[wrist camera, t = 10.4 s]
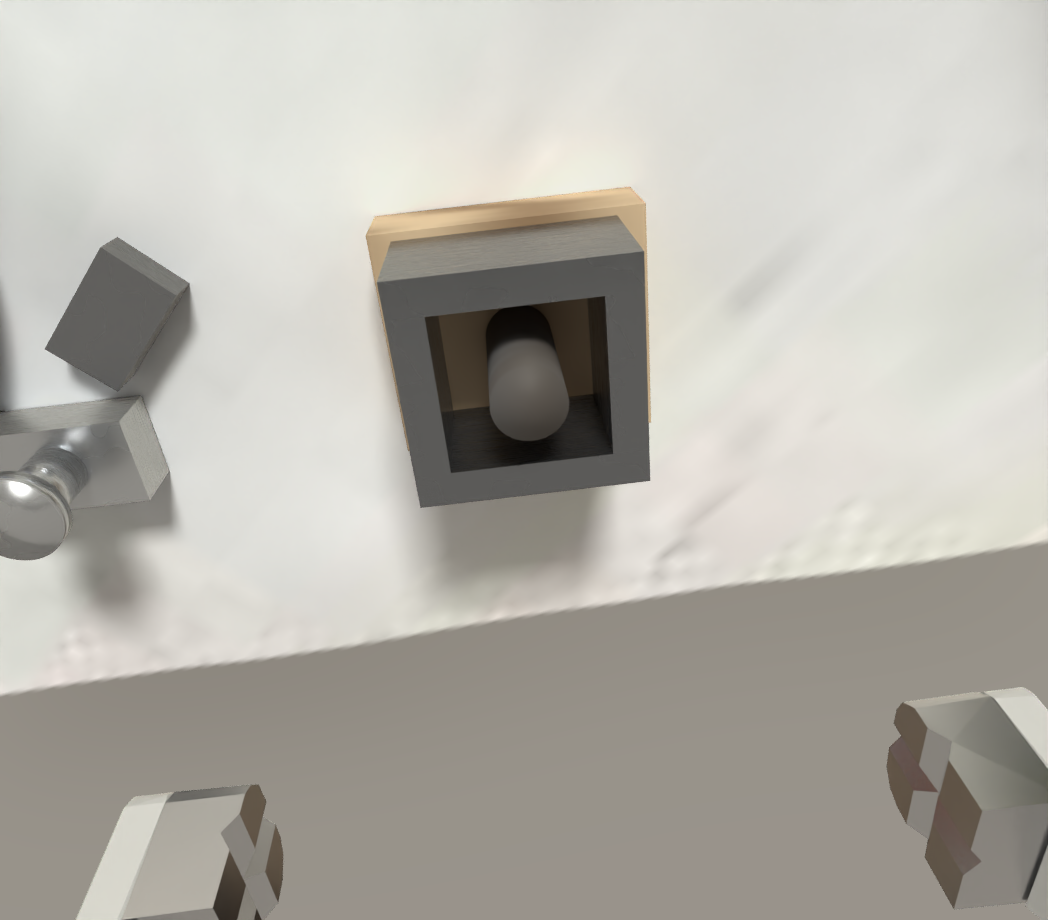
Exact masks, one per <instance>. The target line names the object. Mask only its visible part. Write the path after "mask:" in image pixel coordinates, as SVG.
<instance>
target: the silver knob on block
mask: <svg viewBox="0 0 1048 920" xmlns="http://www.w3.org/2000/svg"><path fill="white" fill-rule="evenodd" d="M168 472H169V469H168V466H167V463H166V461H165V458H164V455H163V453H162V450H161V447H160V445H159V442H158V439H157V437H156V434H155V431H154V429H153V426H152V423H151V421H150V418H149V415H148V413H147V410H146V407H145V404H144V402H143V399H142V396H135V397H126V398H118V399H109V400H100V401H92V402H83V403H75V404H66V405H58V406H49V407H41V408H32V409H24V410H15V411H7V412H0V555H1V556H4V557H7V558H11V559H16V560H35V559H39V558H43V557H45V556H47V555H49V554H51V553H52V552H54V551H55V550H56V549H57V548H58V547H59V545H60V544H61V543H62V541H63V540H64V539H65V538H66V536H67V535H68V534H69V532H70V530H71V527H72V521H73V520H72V512H71V510H74V509H83V508H91V507H100V506H108V505H117V504H125V503H134V502H142V501H150V500H151V498H152V497H153V495H154V494H155V492H156V491H157V489H158V488H159V486H160V484H161V483H162V481H163V480H164V478H165V477H166V475H167V474H168Z"/></svg>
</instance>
